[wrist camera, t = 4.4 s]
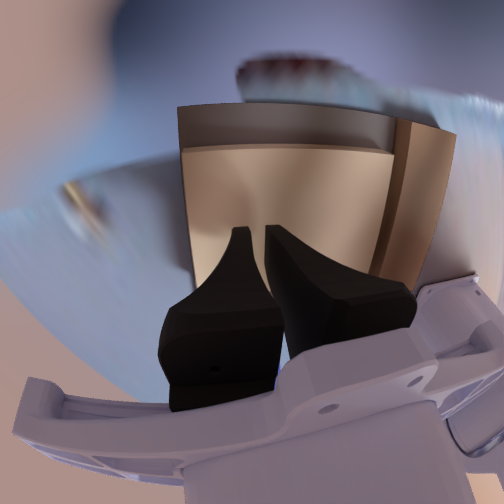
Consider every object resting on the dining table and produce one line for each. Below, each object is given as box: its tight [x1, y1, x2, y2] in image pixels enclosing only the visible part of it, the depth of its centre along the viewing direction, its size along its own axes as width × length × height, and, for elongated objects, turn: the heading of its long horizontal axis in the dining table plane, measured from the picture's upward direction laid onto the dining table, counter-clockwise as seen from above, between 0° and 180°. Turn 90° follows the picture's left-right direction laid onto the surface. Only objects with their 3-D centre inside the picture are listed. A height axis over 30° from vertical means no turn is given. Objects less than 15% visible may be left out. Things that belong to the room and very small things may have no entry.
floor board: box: [177, 103, 456, 297], centre depth 15 cm, size 16×12×2 cm
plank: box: [182, 144, 394, 291], centre depth 14 cm, size 10×8×1 cm
